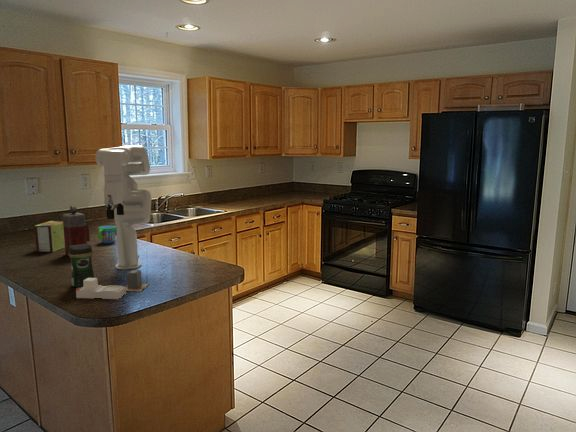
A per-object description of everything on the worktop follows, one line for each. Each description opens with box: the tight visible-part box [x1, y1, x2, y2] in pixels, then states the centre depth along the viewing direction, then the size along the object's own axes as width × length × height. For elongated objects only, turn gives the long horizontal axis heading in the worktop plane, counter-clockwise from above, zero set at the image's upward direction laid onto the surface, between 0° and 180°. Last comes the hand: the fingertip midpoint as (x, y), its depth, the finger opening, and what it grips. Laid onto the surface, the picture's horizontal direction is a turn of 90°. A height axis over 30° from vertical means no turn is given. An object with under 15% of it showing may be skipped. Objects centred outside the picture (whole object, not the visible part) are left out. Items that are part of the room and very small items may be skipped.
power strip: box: [75, 277, 127, 300], centre depth 183 cm, size 18×7×7 cm, turn 86°
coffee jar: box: [68, 243, 96, 288], centre depth 196 cm, size 10×8×19 cm
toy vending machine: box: [62, 205, 91, 257], centre depth 247 cm, size 9×11×28 cm
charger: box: [126, 269, 143, 289], centre depth 193 cm, size 4×4×7 cm
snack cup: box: [97, 225, 117, 244], centre depth 278 cm, size 16×10×10 cm
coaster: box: [124, 283, 149, 292], centre depth 193 cm, size 9×9×1 cm
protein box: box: [33, 220, 65, 253], centre depth 261 cm, size 10×15×16 cm
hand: (115, 216), depth 198 cm, fingers open, 9 cm apart
